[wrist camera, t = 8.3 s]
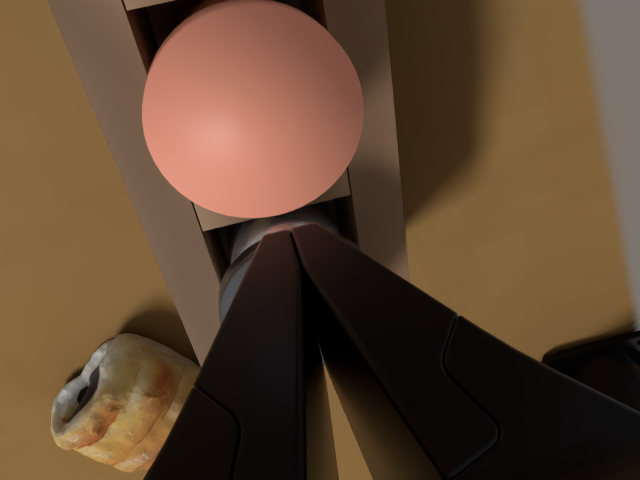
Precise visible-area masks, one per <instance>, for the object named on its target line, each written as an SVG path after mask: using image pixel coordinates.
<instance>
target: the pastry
mask: <svg viewBox="0 0 640 480" xmlns="http://www.w3.org/2000/svg"><path fill="white" fill-rule="evenodd" d="M200 369H201V367H200V366H198V365H196V364H195V363H194V362H193V361H191V360H189V359H187V358H185V357H183V356H182V355H180V354H178V353H177V352H175V351H174V350H172V349H171V348H169V347H166V346H164V345H163V344H160V343H158V342H155V341H153V340H152V339H149V338H146V337H142V336H139V335H137V334H131V333H123V334H118V335H117V336H116V337H115V339H113V340H108V341H106V342H105V343H104V344H103V345H102V346H100V347H99V348H98V349H97V350H96V351H95V352H94V353H93V355H92V357H91V359H90V360H89V362H88V363H87V364H86V366H85V368H84V369H83V372H82V374H81V375H80V376H78V377H77V378H75V379H73V380H72V381H70V382H69V383H68V384H67V385H66V386H64V387H63V389H62V390H61V391H60V393H59V394H58V395H57V396H56V398H55V400H54V403H53V407H52V413H51V432H52V434H53V437H54V439H55V442H56V443H57V444H58V446H59V447H62V448H63V449H65V450H70V449H72V448H73V449H75V450H77V451H78V452H80V453H82V454H84V455H86V456H88V457H90V458H92V459H94V460H95V461H98V462H100V463H103V464H110V465H113V466H114V467H116V468H117V469H119V470H121V471H124V472H133V471H136V470H139V469H149V468H150V467H151V465H152V463H153V462H154V460H155V458H156V456H157V455H158V453H159V451H160V450H161V448H162V446H163V444H164V443H165V441H166V439H167V437H168V435H169V433H170V431H171V429H172V427H173V425H174V423H175V421H176V419H177V417H178V415H179V413H180V411H181V409H182V407H183V405H184V403H185V400H186V398H187V396H188V394H189V392H190V390H191V388H193V387H194V386H193V384H194V382H195V380H196V377H197V375H198V373H199V371H200Z"/></svg>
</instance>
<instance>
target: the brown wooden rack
mask: <svg viewBox="0 0 640 480" xmlns="http://www.w3.org/2000/svg"><path fill="white" fill-rule="evenodd" d="M192 1H193V0H48V3H49V5H50V8H51V10H52V12H53V15H54V17H55V19H56V22H57V24H58V27H59V29H60V31H61V34H62V36H63V39H64V41H65V43H66V46H67V48H68V51H69V53H70V55H71V58H72V60H73V62H74V65H75V67H76V70H77V72H78V74H79V77H80V79H81V82H82V84H83V86H84V89H85V91H86V93H87V96H88V98H89V101H90V103H91V105H92V108H93V110H94V113H95V115H96V117H97V120H98V122H99V125H100V127H101V129H102V132H103V134H104V136H105V139H106V141H107V144H108V146H109V148H110V151H111V153H112V156H113V158H114V160H115V163H116V165H117V167H118V170H119V172H120V175H121V177H122V179H123V182H124V184H125V187H126V189H127V191H128V194H129V196H130V199H131V201H132V203H133V206H134V208H135V210H136V213H137V215H138V218H139V220H140V222H141V225H142V227H143V230H144V232H145V234H146V237H147V239H148V241H149V244H150V246H151V249H152V251H153V253H154V256H155V258H156V261H157V263H158V265H159V268H160V270H161V273H162V275H163V277H164V280H165V282H166V284H167V287H168V289H169V292H170V294H171V296H172V299H173V301H174V304H175V306H176V308H177V311H178V313H179V316H180V318H181V320H182V323H183V325H184V327H185V330H186V332H187V335H188V337H189V339H190V342H191V344H192V347H193V349H194V351H195V354H196V356H197V358H198V361H199V363H200V366H201V367H202V365H203V362H204V360H205V358H206V356H207V354H208V352H209V350H210V348H211V345H212V343H213V341H214V339H215V337H216V335H217V333H218V330H219V328H220V319H219V306H218V294H219V288H220V284H221V282H222V279H223V277H224V274H225V273H226V271H227V270H228V268H229V266H230V259H229V250H228V241H227V233H226V225H231V224H235V223H239V222H243V221H247V220H251V219H255V218H240V217H233V216H227V215H223V214H220V213H216V212H213V211H211V210H208V209H206V208H203V207H201V206H199V205H198V204H196V203H194V202H192V201H190V200H189V199H188V198H186V197H185V196H184V195H182V194H181V193H180V192H178V191H177V190H176V189H175V188H174V187H173V186H172V185H171V184H170V183H169V182H168V181H167V179H166V178H165V177H164V176H163V175H162V173H161V172H160V170H159V169H158V167H157V165H156V164H155V162H154V160H153V158H152V156H151V154H150V152H149V149H148V146H147V143H146V140H145V136H144V131H143V124H142V103H143V95H144V89H145V84H146V79H147V76H148V72H149V69H150V66H151V63H152V61H153V59H154V57H155V55H156V53H157V51H158V50H159V48H160V46H161V45H162V43H163V42H164V40H165V39H166V38H167V37H168V36H169V35H170V33H171V32H172V31H173V30H174V29H175V26H176V23H177V21H178V19H179V17H180V16H181V14H182V13H183V11H184V10H185V8H186V7H187V6H188V5H189V4H190V3H191V2H192ZM276 1H277V2H279V3H283V4H287V5H289V6H291V7H293V8H296V9H298V10H300V11H302V12H304V13H305V14H307V15H308V16H310V17H312V18H313V19H314V20H316V21H317V22H318V23H319V24H320V25H322V26H323V27H324V28H325V29H326V30H327V31H328V32H329V34H330V35H331V36H332V37H333V38H334V39H335V40H336V41H337V42H338V43H339V45H340V46H341V47H342V48H343V50H344V51H345V53H346V54H347V55H348V57H349V58H350V60H351V62H352V64H353V66H354V68H355V70H356V73H357V75H358V78H359V81H360V84H361V89H362V95H363V104H364V117H363V127H362V132H361V137H360V140H359V143H358V146H357V149H356V151H355V153H354V155H353V157H352V159H351V161H350V163H349V165H348V166H347V168H346V169H345V171H344V172H343V174H342V175H341V176H340V177H339V178H338V179H337V181H336V182H335V183H334V184H333V185H332V186H331V187H330V188H329V189H328V190H327V191H325V192H324V193H323V194H321V195H320V196H319V197H317V198H316V199H315V200H313V201H311V202H309V203H308V204H306V205H304V206H307V205H311V204H315V203H319V202H323V201H326V202H327V204H328V206H329V209H330V211H331V213H332V216H333V218H334V220H335V223H336V225H337V227H338V230H339V232H340V234H341V236H343V237H345V238H347V239H349V240H350V241H352V242H353V243H355V244H356V245H357V246H358V247H359V248H360V249H361V250H362V251H363V252H364V253H365V254H366V255H368V256H369V257H371V258H372V259H374V260H375V261H377V262H378V263H380V264H382V265H383V266H385V267H386V268H388V269H389V270H391V271H392V272H394V273H396V274H397V275H399V276H400V277H402V278H403V279H405V280H406V281H408V282H410V281H409V269H408V258H407V247H406V235H405V224H404V212H403V201H402V190H401V178H400V167H399V156H398V144H397V133H396V122H395V110H394V99H393V88H392V76H391V65H390V54H389V42H388V31H387V20H386V8H385V0H276ZM302 207H303V206H302Z"/></svg>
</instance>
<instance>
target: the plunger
mask: <svg viewBox="0 0 640 480" xmlns="http://www.w3.org/2000/svg"><path fill="white" fill-rule="evenodd" d="M313 222H315V223H318V224H319V225H321V226H323V227H324V228H326V229H327V230H329V231H330V232H332V233H333V234H335V235H337V236H338V237H340V238H341V239H343V240H344V241H346V242H347V243H349V244H351V245H352V246H354V247H355V248H357V249H358V250H360V251H361V252H363V251H362V250H361V249H360V248H359V247H358V246H357V245H356V244H355V243H353V242H352V241H350V240H349V239H347V238H345V237H343V236H341V234H340V232H339V230H338V227H337V225H336V223H335V220H334V218H333V216H332V213H331V211H330V209H329V206H328V204H327V202H326V201H323V202H319V203H315V204H311V205H307V206H303V207H300V208H298V209H295V210H293V211H290V212H287V213H284V214H280V215H276V216H270V217H263V218H255V219H251V220H247V221H243V222H239V223H235V224H231V225H226V233H227V241H228V250H229V259H230V266H229V268H228V270H227V271H226V273H225V274H224V277H223V279H222V282H221V284H220V288H219V294H218V306H219V319H220V326H221V324H222V322H223V320H224V318H225V315H226V313H227V311H228V309H229V307H230V305H231V303H232V300H233V298H234V296H235V294H236V292H237V290H238V288H239V285H240V283H241V281H242V279H243V277H244V275H245V273H246V270H247V268H248V266H249V264H250V262H251V260H252V258H253V255H254V253H255V251H256V249H257V247H258V245H259V243H260V240H261V238H262V237H263V236H264V235H265V234H269V233H273V232H277V231H281V230H288V231H289V232H290V234H291V229H292V228H294V227H297V226H301V225H305V224H309V223H313ZM363 253H364V252H363ZM364 254H365V253H364ZM319 347H320V346H319ZM320 351H321V350H320ZM321 356H322V353H321ZM322 360H323V357H322ZM323 365H325V363H324V360H323Z"/></svg>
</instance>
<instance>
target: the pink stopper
mask: <svg viewBox="0 0 640 480" xmlns="http://www.w3.org/2000/svg"><path fill="white" fill-rule="evenodd" d="M363 117H364V104H363V95H362V89H361V84H360V81H359V78H358V75H357V73H356V70H355V68H354V66H353V64H352V62H351V60H350V58H349V57H348V55H347V54H346V53H345V51H344V50H343V48H342V47H341V46H340V45H339V43H338V42H337V41H336V40H335V39H334V38H333V37H332V36H331V35H330V34H329V32H328V31H327V30H326V29H325V28H324V27H323V26H322V25H320V24H319V23H318V22H317V21H316V20H314V19H313V18H312V17H310V16H308V15H307V14H305V13H304V12H302V11H300V10H298V9H296V8H293V7H291V6H289V5H287V4H283V3H279V2H277V1H276V0H193V1H192V2H191V3H190V4H189V5H188V6H187V7H186V8H185V10H184V11H183V13H182V14H181V16H180V17H179V19H178V21H177V23H176V26H175V29H174V30H173V31H172V32H171V33H170V35H169V36H168V37H167V38H166V39H165V40H164V42H163V43H162V45H161V46H160V48H159V50H158V51H157V53H156V55H155V57H154V59H153V61H152V63H151V66H150V69H149V72H148V76H147V79H146V84H145V89H144V95H143V103H142V124H143V131H144V136H145V140H146V143H147V146H148V149H149V152H150V154H151V156H152V158H153V160H154V162H155V164H156V165H157V167H158V169H159V170H160V172H161V173H162V175H163V176H164V177H165V178H166V179H167V181H168V182H169V183H170V184H171V185H172V186H173V187H174V188H175V189H176V190H177V191H178V192H180V193H181V194H182V195H184V196H185V197H186V198H188V199H189V200H190V201H192V202H194V203H196V204H198V205H199V206H201V207H203V208H206V209H208V210H211V211H213V212H216V213H220V214H223V215H227V216H233V217H240V218H263V217H270V216H276V215H280V214H284V213H287V212H290V211H293V210H295V209H298V208H300V207H302V206H304V205H306V204H308V203H309V202H311V201H313V200H315V199H316V198H317V197H319V196H320V195H321V194H323V193H324V192H325V191H327V190H328V189H329V188H330V187H331V186H332V185H333V184H334V183H335V182H336V181H337V179H338V178H339V177H340V176H341V175H342V174H343V172H344V171H345V169H346V168H347V166H348V165H349V163H350V161H351V159H352V157H353V155H354V153H355V151H356V149H357V146H358V143H359V140H360V137H361V132H362V127H363Z"/></svg>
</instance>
